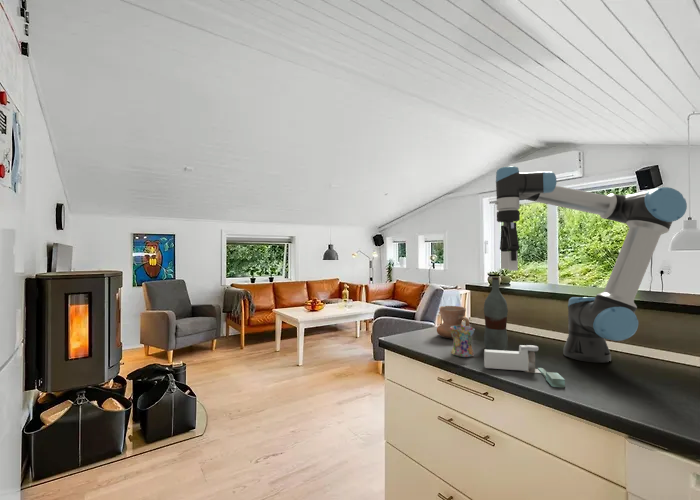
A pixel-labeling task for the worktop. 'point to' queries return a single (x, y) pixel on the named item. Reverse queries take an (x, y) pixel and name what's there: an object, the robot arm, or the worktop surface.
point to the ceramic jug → (451, 319)
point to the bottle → (495, 319)
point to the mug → (462, 341)
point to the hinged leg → (508, 358)
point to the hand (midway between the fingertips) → (509, 269)
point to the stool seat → (551, 377)
